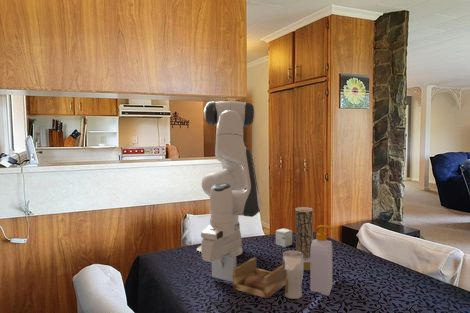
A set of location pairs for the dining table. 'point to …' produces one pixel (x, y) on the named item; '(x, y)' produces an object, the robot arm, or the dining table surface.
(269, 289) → the tray
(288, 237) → the skincare box
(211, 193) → the robot arm
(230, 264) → the grey block
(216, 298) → the dining table surface
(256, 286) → the offcut
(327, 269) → the soap bottle
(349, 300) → the dining table surface
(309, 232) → the brown bark cylinder
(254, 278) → the offcut
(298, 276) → the beer glass
